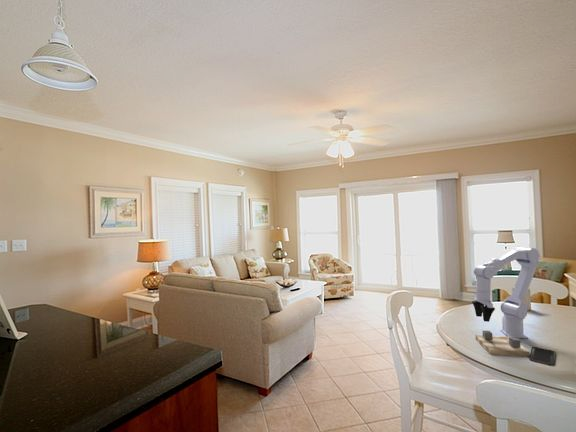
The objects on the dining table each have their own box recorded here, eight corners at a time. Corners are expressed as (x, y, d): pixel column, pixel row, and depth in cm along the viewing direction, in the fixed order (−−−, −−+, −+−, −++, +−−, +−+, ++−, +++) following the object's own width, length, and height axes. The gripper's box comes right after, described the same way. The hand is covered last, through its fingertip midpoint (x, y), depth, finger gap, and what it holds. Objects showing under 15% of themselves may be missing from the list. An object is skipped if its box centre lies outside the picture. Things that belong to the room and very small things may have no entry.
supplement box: (531, 309, 188) (530, 288, 188) (527, 310, 186) (527, 289, 186) (516, 306, 195) (515, 285, 195) (512, 307, 193) (511, 287, 193)
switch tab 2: (509, 344, 135) (508, 337, 135) (516, 344, 134) (516, 337, 134) (512, 346, 132) (512, 340, 132) (520, 347, 131) (520, 340, 131)
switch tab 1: (482, 336, 143) (482, 330, 143) (489, 337, 143) (489, 330, 143) (485, 339, 140) (485, 332, 140) (492, 339, 140) (492, 333, 140)
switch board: (475, 339, 147) (475, 335, 147) (511, 341, 143) (510, 336, 143) (489, 353, 131) (489, 349, 131) (529, 356, 128) (529, 351, 128)
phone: (528, 358, 125) (532, 346, 136) (528, 361, 125) (532, 348, 136) (554, 364, 119) (555, 351, 130) (554, 367, 119) (555, 353, 130)
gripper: (467, 286, 155) (467, 313, 155) (481, 293, 141) (480, 322, 140) (482, 287, 154) (482, 314, 154) (498, 294, 140) (497, 324, 139)
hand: (482, 318), depth 147 cm, fingers open, 7 cm apart
